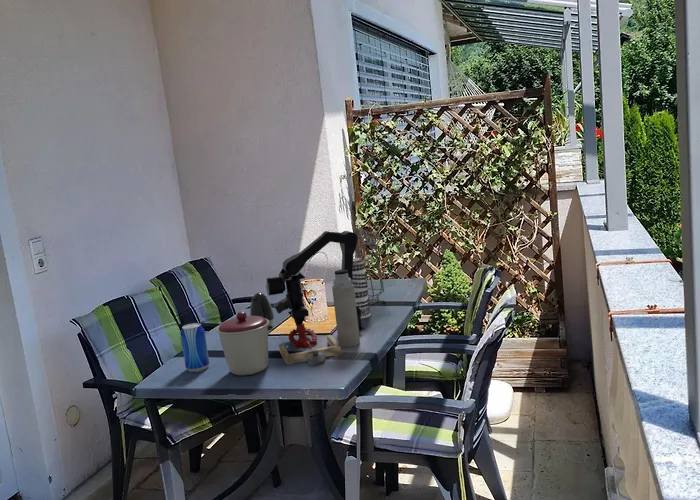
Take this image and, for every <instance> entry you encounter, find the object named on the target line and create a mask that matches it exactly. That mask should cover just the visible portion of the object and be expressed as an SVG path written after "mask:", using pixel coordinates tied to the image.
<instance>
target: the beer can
mask: <svg viewBox="0 0 700 500" xmlns="http://www.w3.org/2000/svg"><path fill="white" fill-rule="evenodd" d="M205 333H206V332H205V328H203V326H202V324H201V323H198V322H193V323H188V324H185V325H183V326H182V327H181V332H180V339H181V346H182V352H183V358H184V359H183V360H184V365H185V369H186V370H187V371H188V372H189V373H197V372H201V371H204V370H207V369H208V367H209V365H210V359H209V351H208V345H207V338H206V334H205Z"/></svg>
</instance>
